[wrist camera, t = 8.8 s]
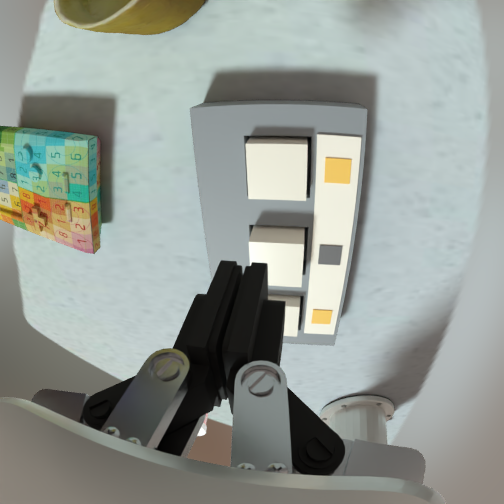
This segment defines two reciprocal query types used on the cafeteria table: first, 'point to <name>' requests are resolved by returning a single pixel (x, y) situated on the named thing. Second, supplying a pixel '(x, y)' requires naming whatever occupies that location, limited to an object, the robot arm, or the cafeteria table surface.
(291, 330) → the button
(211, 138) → the button board
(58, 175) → the puzzle game
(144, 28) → the mug
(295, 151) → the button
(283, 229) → the button middle
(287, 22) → the cafeteria table surface
